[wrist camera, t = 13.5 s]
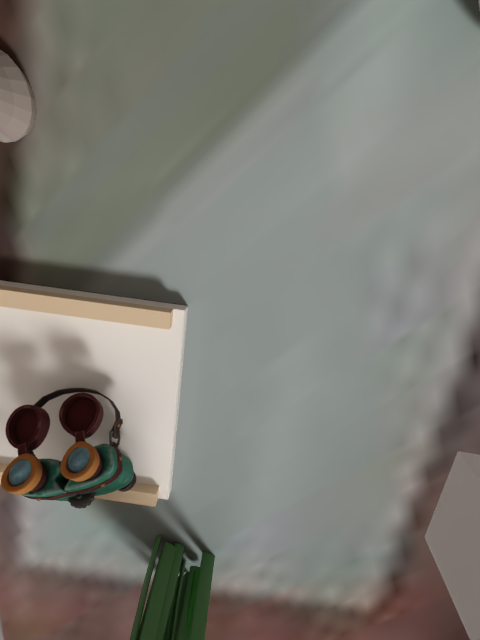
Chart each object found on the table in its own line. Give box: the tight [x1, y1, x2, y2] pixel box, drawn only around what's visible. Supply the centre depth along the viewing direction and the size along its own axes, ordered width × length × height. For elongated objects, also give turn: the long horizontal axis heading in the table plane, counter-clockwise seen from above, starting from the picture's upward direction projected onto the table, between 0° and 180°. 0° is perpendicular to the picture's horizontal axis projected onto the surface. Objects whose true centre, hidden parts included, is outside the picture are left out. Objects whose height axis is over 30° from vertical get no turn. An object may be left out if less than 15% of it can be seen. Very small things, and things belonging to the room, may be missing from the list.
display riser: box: [0, 280, 188, 507], centre depth 39 cm, size 20×20×3 cm
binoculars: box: [1, 388, 136, 508], centre depth 37 cm, size 9×11×10 cm
